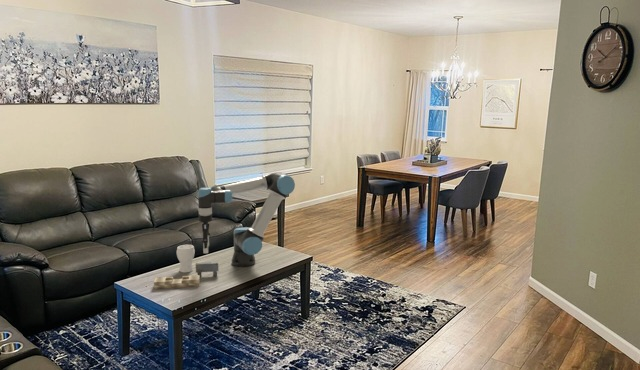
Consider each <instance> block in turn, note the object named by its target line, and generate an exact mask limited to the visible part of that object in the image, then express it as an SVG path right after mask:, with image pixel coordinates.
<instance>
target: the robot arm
mask: <svg viewBox="0 0 640 370" xmlns="http://www.w3.org/2000/svg"><path fill="white" fill-rule="evenodd" d="M295 186H296V184H295V180H294V178H293V177H292V176H291V175H288V174H285V173H282V172H280V171H277V172H272V173H271V172H270V173H268V174H264V175H263V174H262V175H261V176H260V177H257V178H252V179H248V180H243V181H242V180H241V181H238V182H234V183H230V184H229V183H228V184H224V185H219V186H218V185H212V186H210V187H200V188H198V190H197V191H198V192H197V202H198V203H197V204H198V209H197V211H198V222H200V223H202V224H201V228H202V230H201V231H202V241H201V243H202V244H203V245H202V246H203V248H202V251H203V252H202V253H203V254H209V247H210V235H211V233H210V231H209V230H210V222H212V221H213V205H214V204H215V205H217V204H229V203H231V202H232V201H233V197H234V196H236V195H241V194H246V193H251V192H257V191H260V190H264V191H269V195H268V196H267V198H266V199H265V201H264V204H263V205H262V207H261V209H260V210H259V212H258V214H257V216H256V218H255V220H254V221H253V224H252V225H251V226H250V227H247V226H245V227H237V228H235V229H234V230H233V254H232V257H231V265H232V266H236V267H248V266H253V265H254V264H255V263H256V257H255V255H257V254H258V253H259V252H261V250H262V248H263V240H264V238H265V235H264V234H265V232H266V230H267V228H268V226H269V224H270V223H271V221H272V219H273V217H274V215H275V214H276V212H277V210H278V208H279V206H280V204H281V203H282V201H283V200H286V199H287V198H288V197H287V196H288V195H289V194H292V193H293V192H294V190H295Z"/></svg>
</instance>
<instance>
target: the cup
mask: <svg viewBox="0 0 640 370" xmlns="http://www.w3.org/2000/svg"><path fill="white" fill-rule="evenodd" d="M195 252H196V250H195V246H194V245H193V244H182V245H181V244H180V245H179V246H177V248H176V257H177V259H178V261H179V265H180V267H179V272H180V273H190V272H192V271H193V270H194V269H193V260H194V258H195V254H196V253H195Z"/></svg>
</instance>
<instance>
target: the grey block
mask: <svg viewBox="0 0 640 370" xmlns="http://www.w3.org/2000/svg"><path fill="white" fill-rule="evenodd" d="M211 272H212V276H213V277H218V272H219V261H206V262H195V273H197V275H200V278H201V277H202V276H203V275H202V274H203V273H211Z"/></svg>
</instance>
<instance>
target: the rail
mask: <svg viewBox="0 0 640 370" xmlns="http://www.w3.org/2000/svg"><path fill="white" fill-rule="evenodd" d="M200 279H201V277H200V275H198V274H194V275H182V277H181V278H174V276H161V277H155V278H154V281H153V289H154V290H162V289H178V288H192V287H193V288H195V287H200V284H201V281H200Z"/></svg>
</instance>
